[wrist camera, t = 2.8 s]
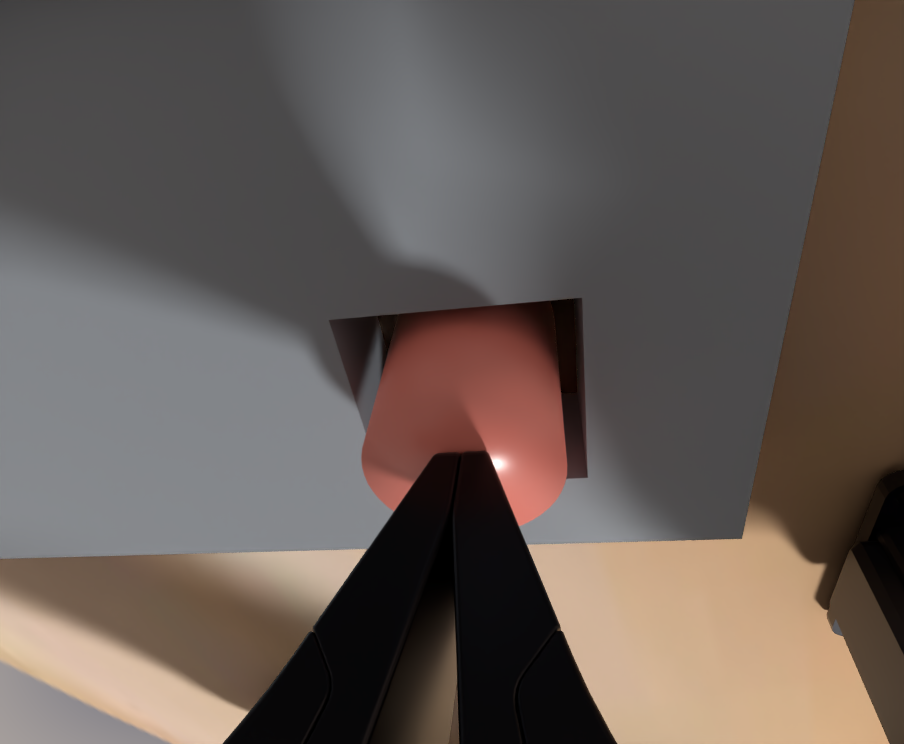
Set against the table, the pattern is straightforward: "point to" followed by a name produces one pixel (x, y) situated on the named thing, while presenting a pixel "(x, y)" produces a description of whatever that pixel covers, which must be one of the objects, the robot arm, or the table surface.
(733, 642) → the table surface
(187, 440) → the panel
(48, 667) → the table surface
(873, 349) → the table surface
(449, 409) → the button
